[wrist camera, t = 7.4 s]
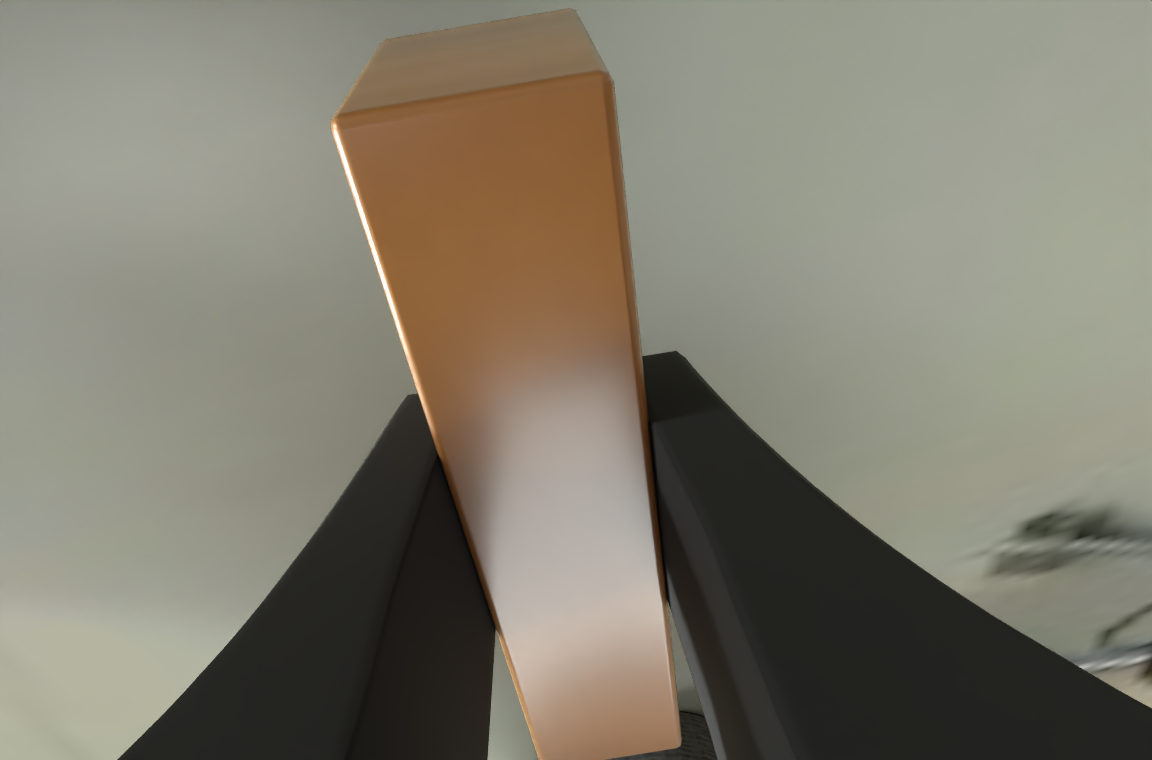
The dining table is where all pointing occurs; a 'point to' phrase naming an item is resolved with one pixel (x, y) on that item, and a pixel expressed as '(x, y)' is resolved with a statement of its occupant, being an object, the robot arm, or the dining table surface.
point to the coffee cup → (685, 743)
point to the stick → (527, 355)
